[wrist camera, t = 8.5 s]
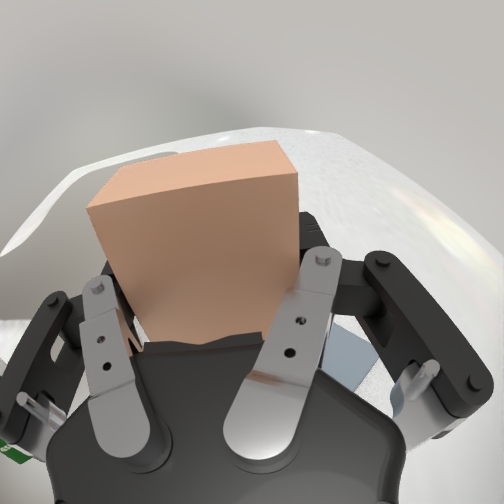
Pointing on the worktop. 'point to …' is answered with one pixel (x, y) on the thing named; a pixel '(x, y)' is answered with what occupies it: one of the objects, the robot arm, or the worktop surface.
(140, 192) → the terracotta block
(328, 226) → the worktop surface
